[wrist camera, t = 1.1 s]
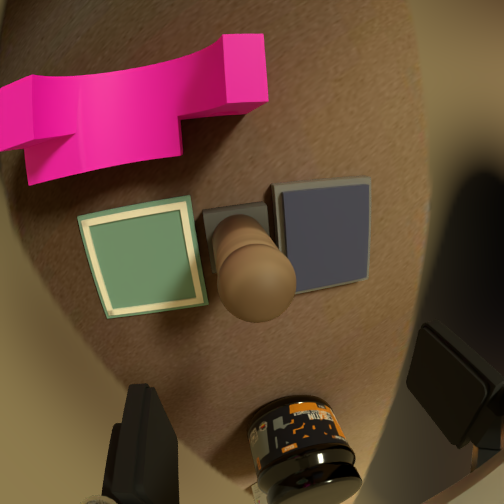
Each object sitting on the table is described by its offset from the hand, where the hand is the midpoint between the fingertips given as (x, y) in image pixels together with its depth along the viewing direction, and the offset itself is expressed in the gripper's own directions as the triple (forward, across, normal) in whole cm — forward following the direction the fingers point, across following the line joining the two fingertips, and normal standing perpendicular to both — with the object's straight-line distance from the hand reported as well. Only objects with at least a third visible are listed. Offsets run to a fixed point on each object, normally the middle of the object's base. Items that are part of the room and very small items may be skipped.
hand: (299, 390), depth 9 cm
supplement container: (+16, -3, +23) cm, 28 cm away
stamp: (+16, 0, -1) cm, 16 cm away
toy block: (+16, +6, -11) cm, 20 cm away
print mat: (+16, +8, 0) cm, 17 cm away
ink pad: (+16, -7, 0) cm, 17 cm away
